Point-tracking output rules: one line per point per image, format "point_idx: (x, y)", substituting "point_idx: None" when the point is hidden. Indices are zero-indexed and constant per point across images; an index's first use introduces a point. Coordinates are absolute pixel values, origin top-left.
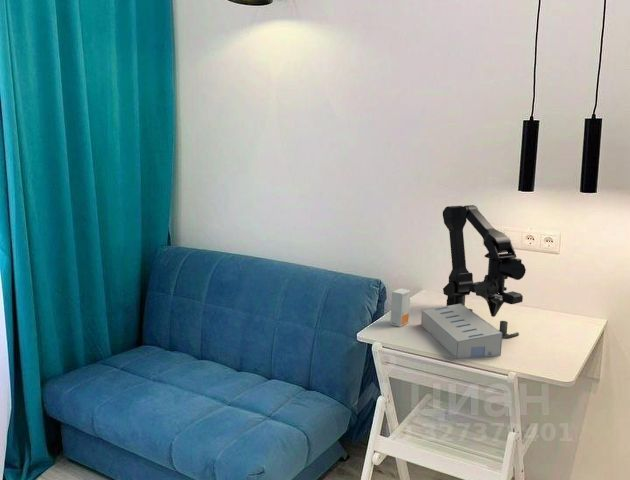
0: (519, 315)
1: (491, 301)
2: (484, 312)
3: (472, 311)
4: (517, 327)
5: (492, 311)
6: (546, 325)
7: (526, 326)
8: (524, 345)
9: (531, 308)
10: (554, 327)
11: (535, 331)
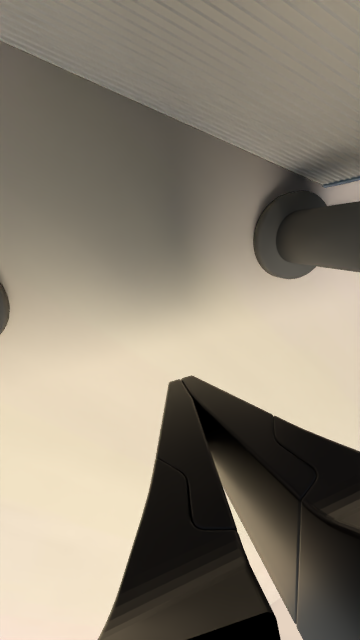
0: (243, 541)
1: (320, 553)
2: (345, 425)
3: (355, 262)
4: (107, 481)
5: (189, 408)
6: (86, 606)
7: (105, 527)
8: None
9: (276, 594)
10: (47, 630)
11: (9, 545)
